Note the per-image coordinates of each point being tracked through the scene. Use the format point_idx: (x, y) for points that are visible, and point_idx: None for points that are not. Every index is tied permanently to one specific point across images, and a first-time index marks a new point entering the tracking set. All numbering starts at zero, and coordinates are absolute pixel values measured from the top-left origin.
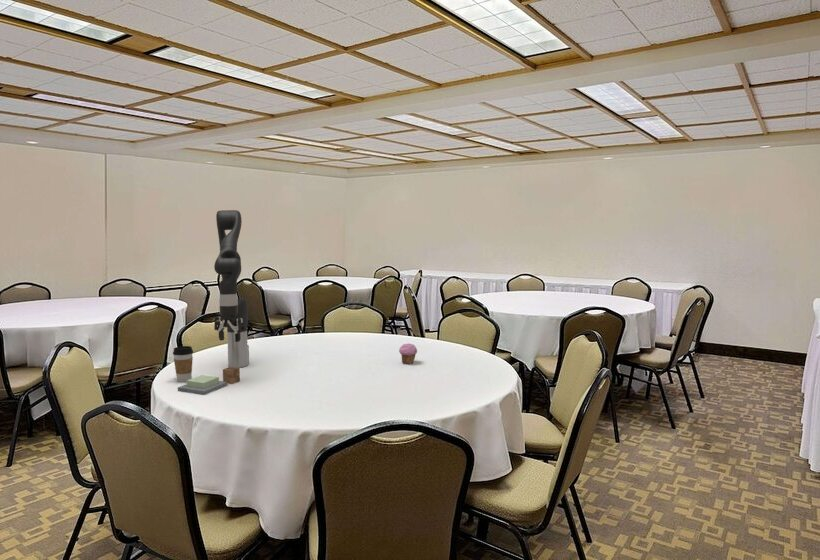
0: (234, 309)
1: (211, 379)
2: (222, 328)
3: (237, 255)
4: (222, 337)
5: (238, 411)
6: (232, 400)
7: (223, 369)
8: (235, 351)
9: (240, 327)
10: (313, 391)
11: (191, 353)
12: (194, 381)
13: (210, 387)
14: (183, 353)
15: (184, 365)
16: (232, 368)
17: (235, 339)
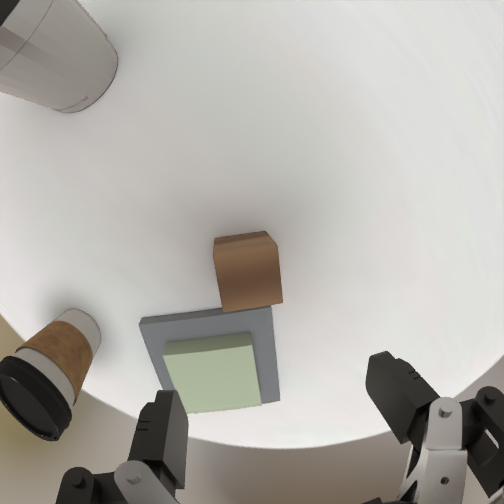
0: None
1: (251, 374)
2: (146, 500)
3: None
4: (180, 424)
5: None
6: None
7: (226, 310)
8: (57, 79)
9: (493, 455)
10: (494, 208)
11: (55, 386)
12: (218, 409)
13: (266, 374)
14: (68, 424)
15: (82, 384)
16: (253, 274)
17: (378, 403)
